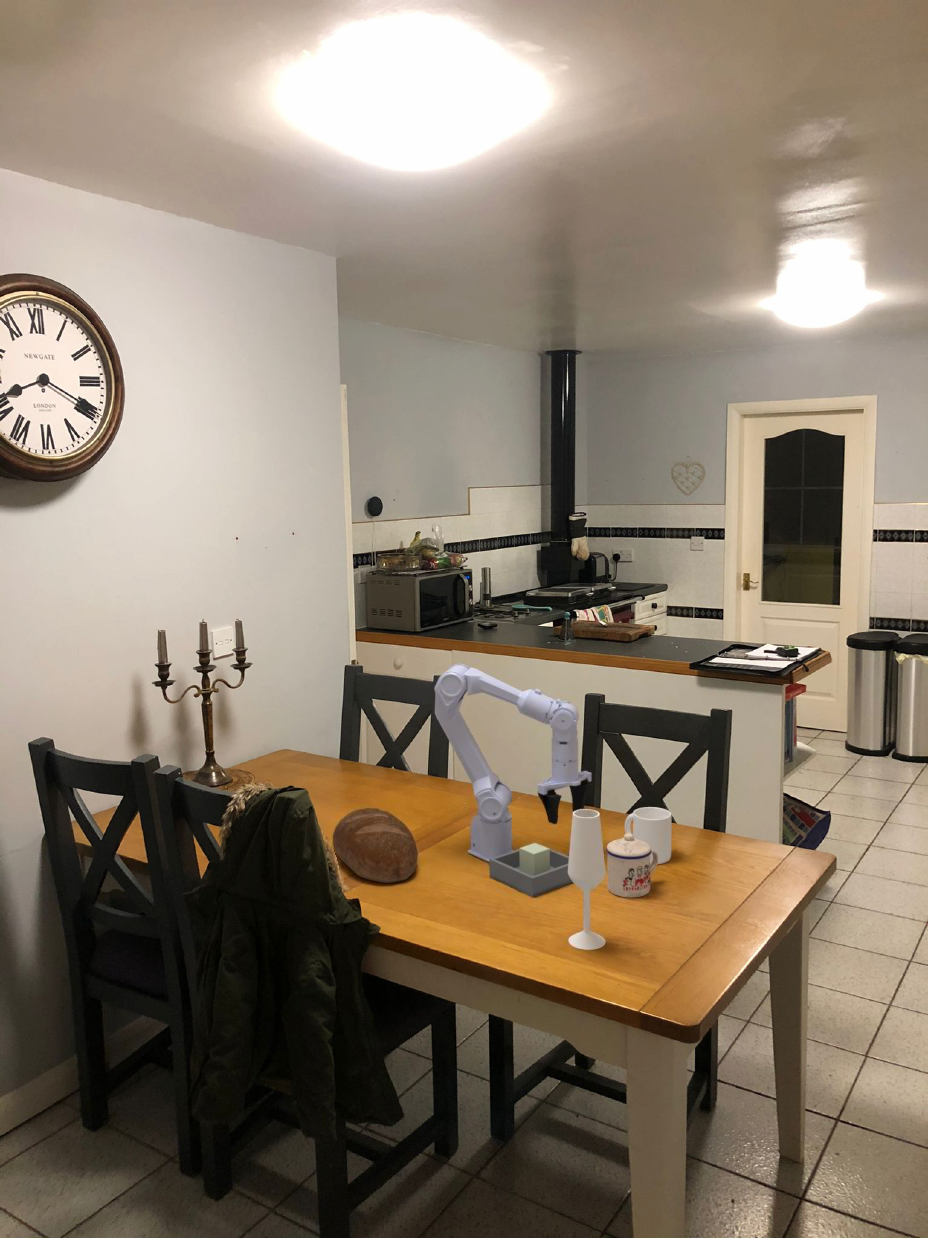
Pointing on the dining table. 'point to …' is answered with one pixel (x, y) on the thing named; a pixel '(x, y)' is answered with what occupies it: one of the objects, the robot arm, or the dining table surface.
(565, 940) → the dining table surface
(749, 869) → the dining table surface
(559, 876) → the bin
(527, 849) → the block
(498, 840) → the robot arm
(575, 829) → the champagne flute
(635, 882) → the teacup with lid
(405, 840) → the bread
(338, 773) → the dining table surface
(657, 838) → the mug
